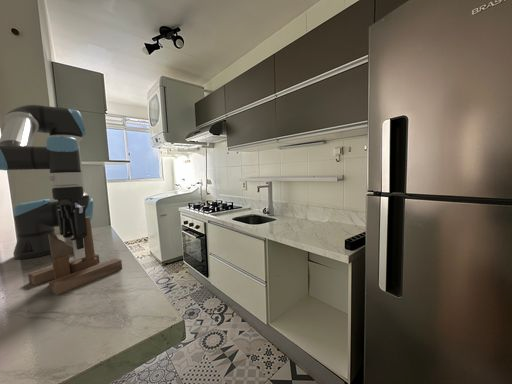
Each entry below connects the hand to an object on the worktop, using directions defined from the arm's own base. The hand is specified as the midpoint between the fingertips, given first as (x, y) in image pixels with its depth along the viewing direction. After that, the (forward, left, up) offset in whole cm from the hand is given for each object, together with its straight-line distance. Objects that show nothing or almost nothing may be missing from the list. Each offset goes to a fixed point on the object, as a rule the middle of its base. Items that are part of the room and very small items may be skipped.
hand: (76, 257), depth 71 cm
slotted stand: (0, 0, -6) cm, 6 cm away
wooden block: (0, 0, -6) cm, 6 cm away
